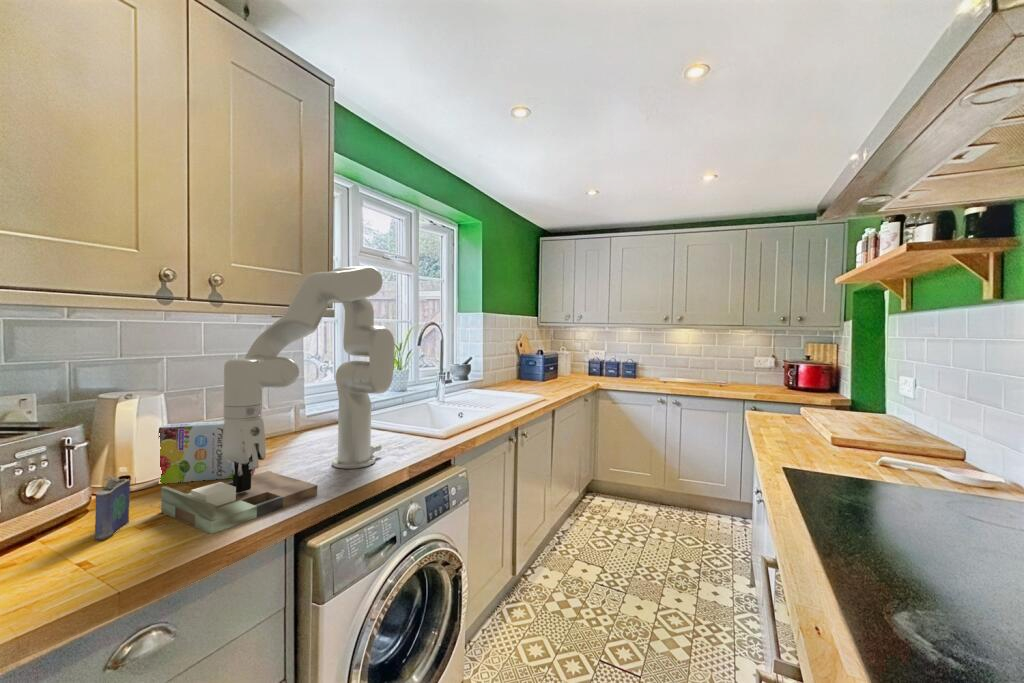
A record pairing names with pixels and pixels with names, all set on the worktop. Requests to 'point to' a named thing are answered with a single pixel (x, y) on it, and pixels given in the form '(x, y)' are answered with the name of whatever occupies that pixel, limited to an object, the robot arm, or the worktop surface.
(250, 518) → the box
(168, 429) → the snack box
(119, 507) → the flask
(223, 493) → the block
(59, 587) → the worktop surface
